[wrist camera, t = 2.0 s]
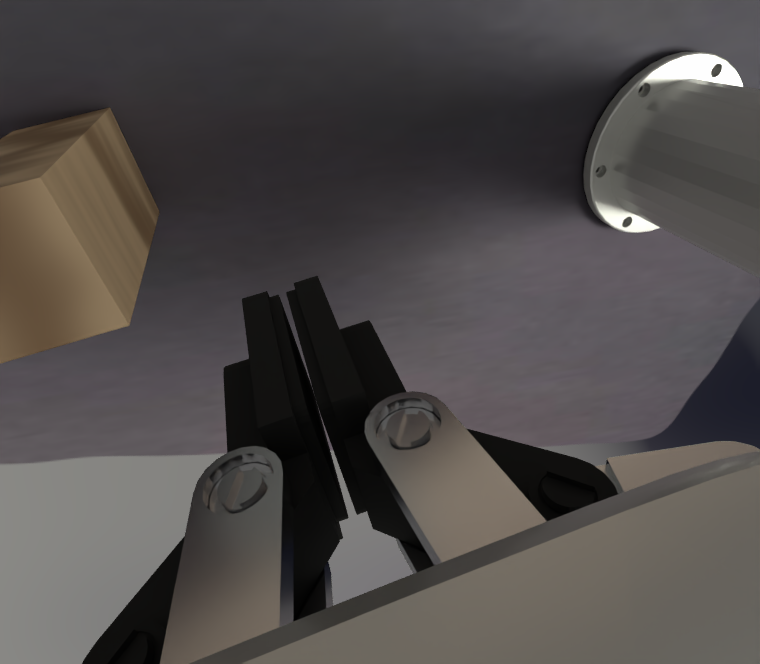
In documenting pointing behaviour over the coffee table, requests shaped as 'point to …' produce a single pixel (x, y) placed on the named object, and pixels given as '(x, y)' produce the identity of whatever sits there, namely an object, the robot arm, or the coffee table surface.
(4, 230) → the brown wooden block
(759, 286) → the coffee table surface
